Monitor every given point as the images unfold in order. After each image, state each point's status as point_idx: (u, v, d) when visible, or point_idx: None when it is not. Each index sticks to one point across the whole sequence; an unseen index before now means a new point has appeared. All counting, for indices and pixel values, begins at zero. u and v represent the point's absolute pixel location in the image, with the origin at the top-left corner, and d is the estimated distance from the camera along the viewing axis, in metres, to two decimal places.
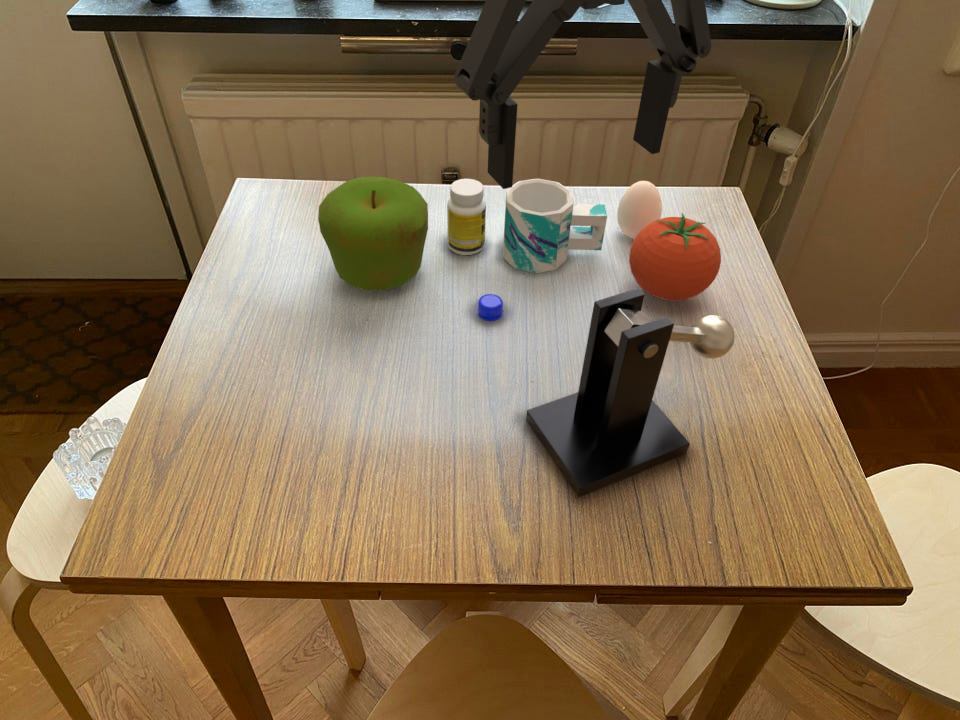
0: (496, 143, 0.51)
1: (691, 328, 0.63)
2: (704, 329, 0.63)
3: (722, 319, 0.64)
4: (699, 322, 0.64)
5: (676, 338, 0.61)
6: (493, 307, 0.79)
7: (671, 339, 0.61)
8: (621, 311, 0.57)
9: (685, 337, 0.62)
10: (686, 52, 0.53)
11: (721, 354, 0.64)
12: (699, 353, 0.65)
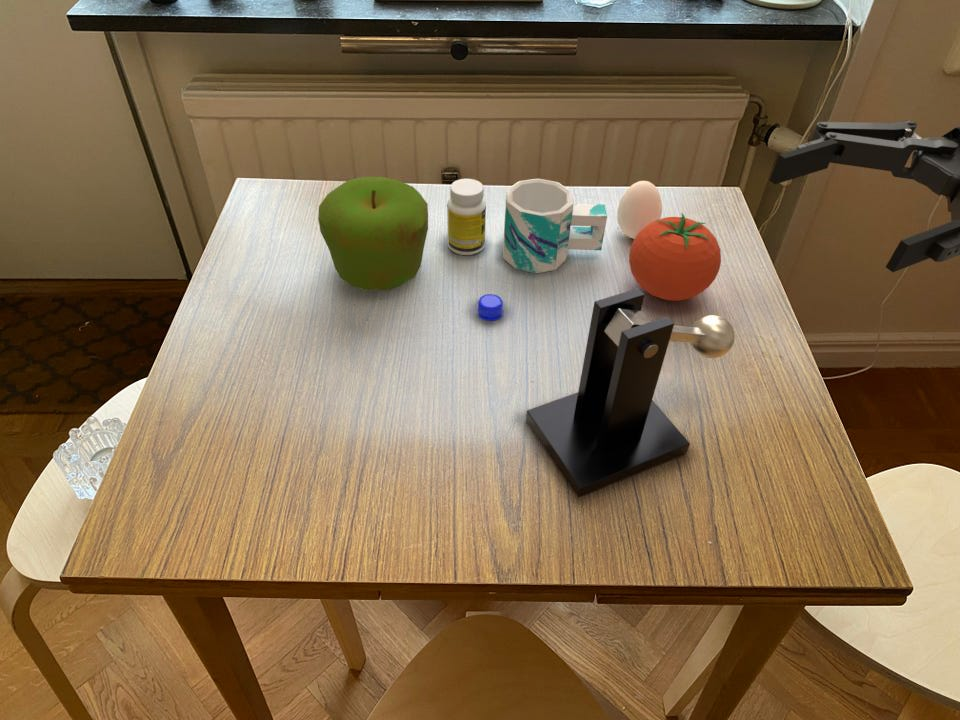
0: None
1: (691, 328, 0.63)
2: (704, 329, 0.63)
3: (722, 319, 0.64)
4: (699, 322, 0.64)
5: (676, 338, 0.61)
6: (493, 307, 0.79)
7: (671, 339, 0.61)
8: (621, 311, 0.57)
9: (685, 337, 0.62)
10: None
11: (721, 354, 0.64)
12: (699, 353, 0.65)
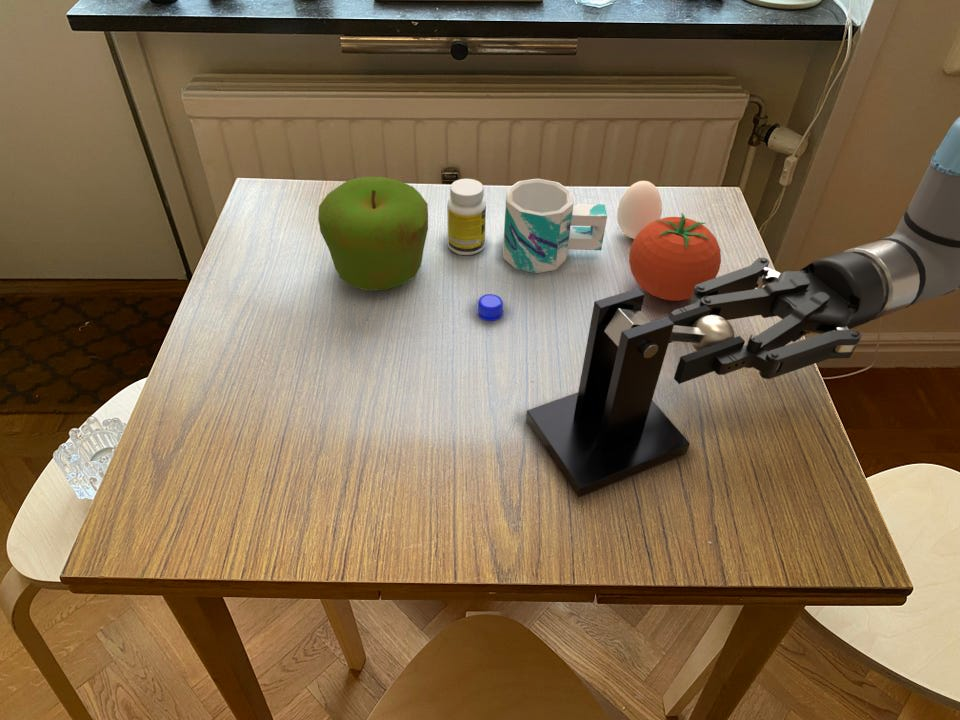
0: None
1: (691, 328, 0.63)
2: (704, 329, 0.63)
3: (722, 319, 0.64)
4: (699, 322, 0.64)
5: (676, 338, 0.61)
6: (493, 307, 0.79)
7: (671, 339, 0.61)
8: (621, 311, 0.57)
9: (685, 337, 0.62)
10: (762, 345, 0.62)
11: None
12: None
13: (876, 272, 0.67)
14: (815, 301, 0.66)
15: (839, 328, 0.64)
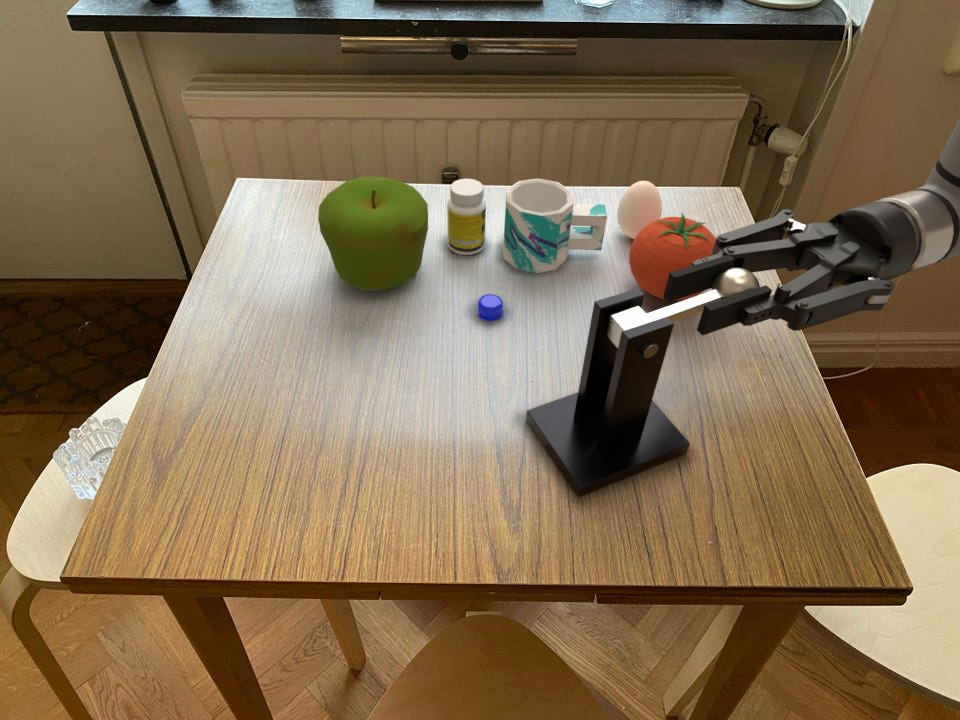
0: None
1: (706, 294, 0.61)
2: (721, 290, 0.60)
3: (739, 273, 0.60)
4: (716, 282, 0.61)
5: (688, 314, 0.60)
6: (493, 307, 0.79)
7: (683, 317, 0.60)
8: (613, 317, 0.58)
9: (699, 308, 0.60)
10: (791, 294, 0.59)
11: None
12: None
13: (909, 221, 0.64)
14: (845, 251, 0.63)
15: (871, 278, 0.61)
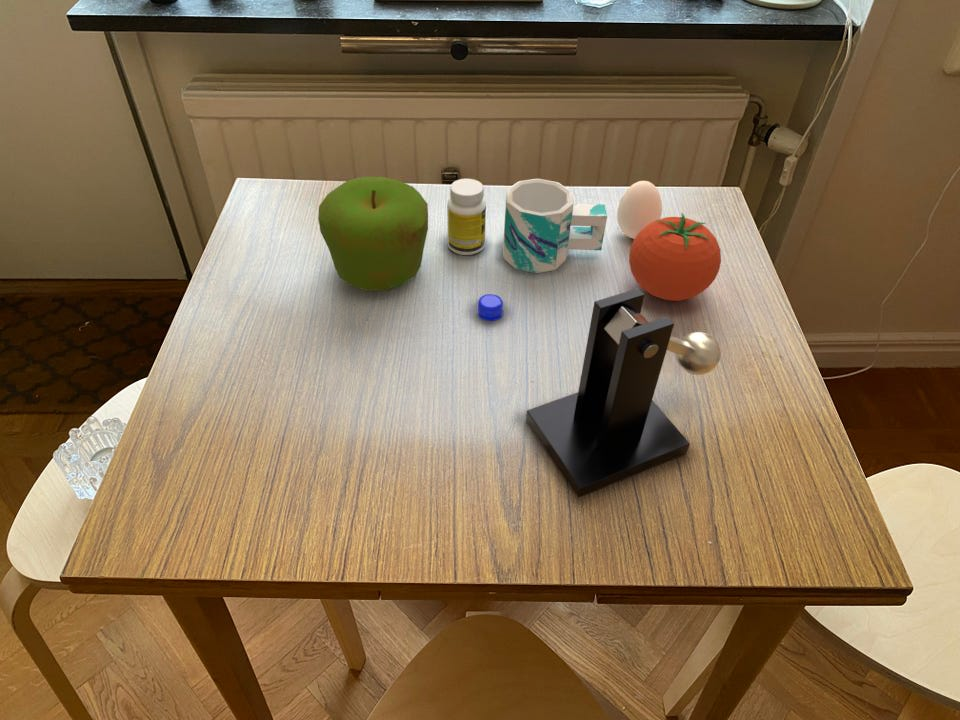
0: None
1: (682, 341, 0.64)
2: (694, 344, 0.64)
3: (711, 336, 0.65)
4: (688, 337, 0.65)
5: (669, 346, 0.62)
6: (493, 307, 0.79)
7: None
8: (625, 309, 0.57)
9: (677, 348, 0.63)
10: None
11: (707, 371, 0.65)
12: (685, 368, 0.65)
13: None
14: None
15: None
